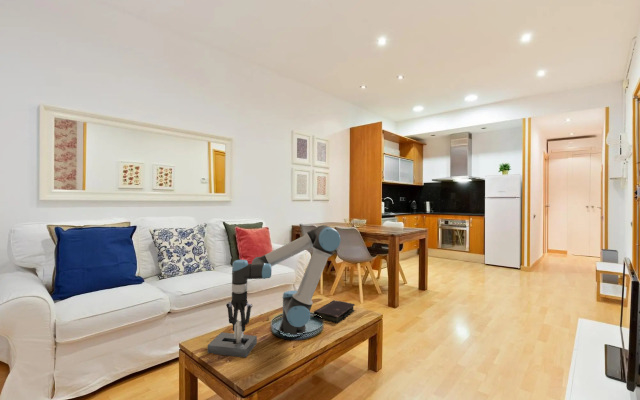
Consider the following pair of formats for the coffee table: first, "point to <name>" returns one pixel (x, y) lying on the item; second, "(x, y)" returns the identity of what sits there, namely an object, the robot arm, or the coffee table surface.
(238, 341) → the peg
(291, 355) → the coffee table surface
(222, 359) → the coffee table surface
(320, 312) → the diary
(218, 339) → the keyhole plate
